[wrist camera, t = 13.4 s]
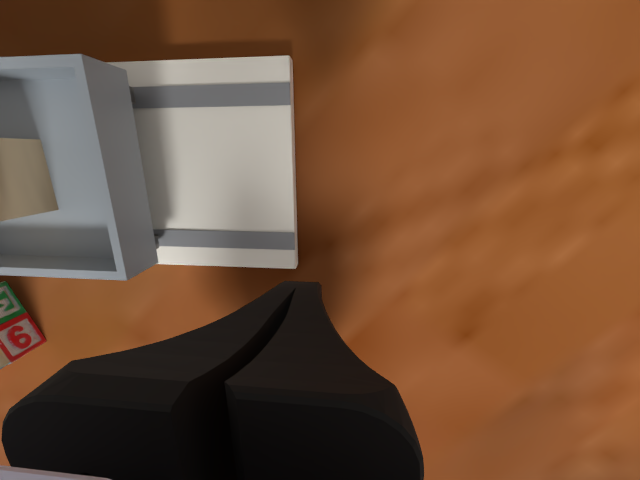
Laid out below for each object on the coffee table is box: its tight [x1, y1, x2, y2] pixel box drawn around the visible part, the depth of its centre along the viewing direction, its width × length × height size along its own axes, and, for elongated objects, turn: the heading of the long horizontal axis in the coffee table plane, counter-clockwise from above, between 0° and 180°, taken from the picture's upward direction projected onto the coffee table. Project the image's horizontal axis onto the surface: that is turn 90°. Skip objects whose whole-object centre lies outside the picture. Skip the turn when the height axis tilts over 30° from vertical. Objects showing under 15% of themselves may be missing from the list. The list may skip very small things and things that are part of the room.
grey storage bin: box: [0, 54, 160, 280], centre depth 18 cm, size 11×12×5 cm
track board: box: [107, 55, 298, 269], centre depth 20 cm, size 13×22×1 cm, turn 90°
